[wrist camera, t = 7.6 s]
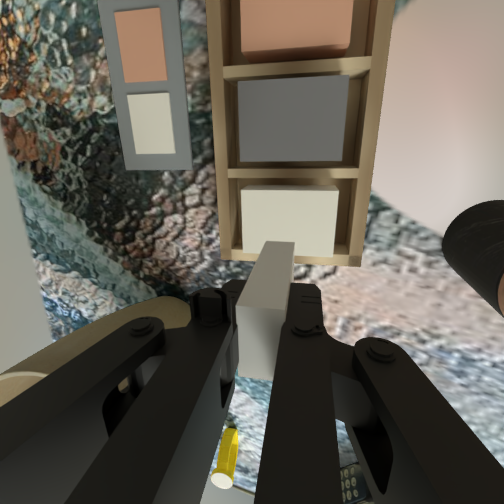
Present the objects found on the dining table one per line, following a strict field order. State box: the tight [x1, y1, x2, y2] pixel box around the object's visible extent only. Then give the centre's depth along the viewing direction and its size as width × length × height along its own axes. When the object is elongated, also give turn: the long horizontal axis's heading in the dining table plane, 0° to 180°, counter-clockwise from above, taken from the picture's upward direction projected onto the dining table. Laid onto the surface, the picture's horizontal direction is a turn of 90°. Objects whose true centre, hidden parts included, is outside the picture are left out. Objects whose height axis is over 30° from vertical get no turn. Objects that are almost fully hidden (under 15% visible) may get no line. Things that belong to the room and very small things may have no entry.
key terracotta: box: [240, 0, 354, 64], centre depth 19 cm, size 7×5×3 cm
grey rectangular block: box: [238, 75, 349, 162], centre depth 20 cm, size 7×5×3 cm
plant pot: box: [0, 296, 191, 407], centre depth 27 cm, size 15×15×16 cm
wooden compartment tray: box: [205, 0, 395, 267], centre depth 21 cm, size 12×29×4 cm, turn 1°
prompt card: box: [97, 0, 193, 170], centre depth 25 cm, size 7×14×1 cm, turn 1°
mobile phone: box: [340, 462, 375, 504], centre depth 37 cm, size 5×3×15 cm
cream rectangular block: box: [241, 185, 339, 257], centre depth 22 cm, size 7×5×3 cm
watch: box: [211, 428, 238, 489], centre depth 37 cm, size 6×3×6 cm, turn 2°
